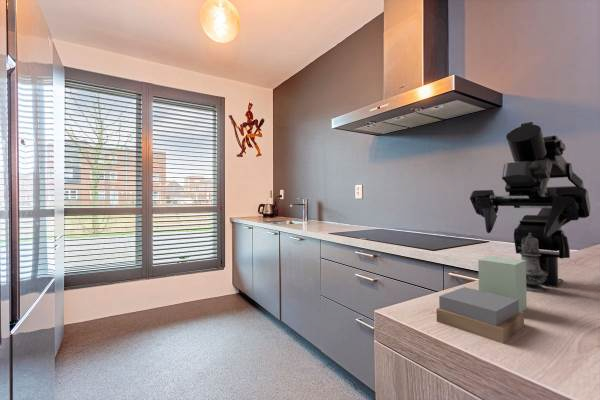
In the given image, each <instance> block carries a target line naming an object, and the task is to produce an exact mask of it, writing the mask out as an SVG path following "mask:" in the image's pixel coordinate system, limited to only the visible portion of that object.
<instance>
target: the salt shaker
mask: <svg viewBox="0 0 600 400" xmlns="http://www.w3.org/2000/svg"><path fill="white" fill-rule="evenodd" d="M528 235H529V236H527V237H524V238H523V239H522V252H520V253H519V255H521V258H520V260H526V292H532V293H533V292H534V293H545V292H547V289H546V288H545V287H544V286H543V284H542V283H543V282H545V280H546V276H547V275H548V273H547V272H545V271H543V270H541V268H540V265H539V256H541V254H539V250H540V249H539V241H538V239H537V238H535V237H533V236H531V235H532V234H531V233H530V232H529V234H528Z"/></svg>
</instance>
